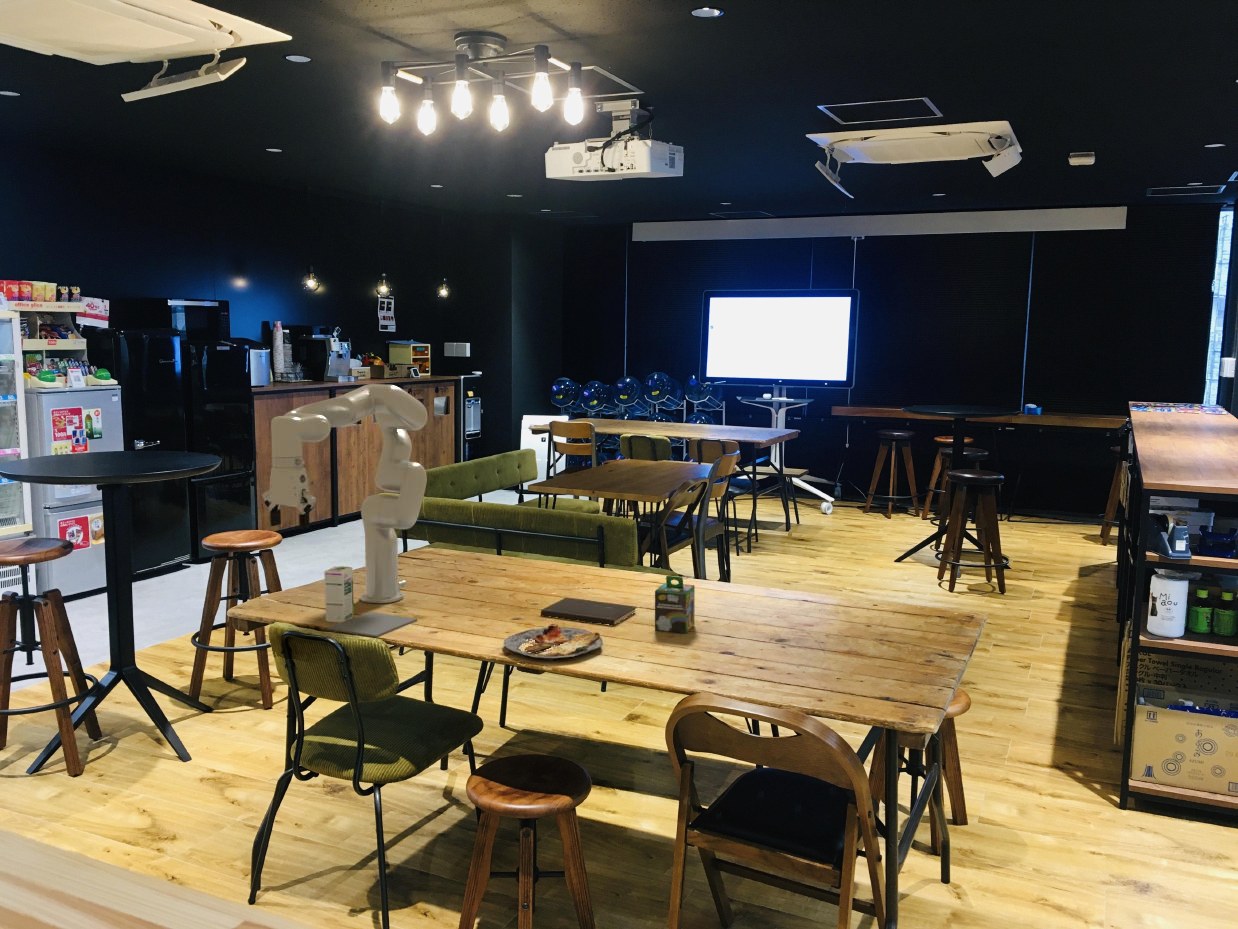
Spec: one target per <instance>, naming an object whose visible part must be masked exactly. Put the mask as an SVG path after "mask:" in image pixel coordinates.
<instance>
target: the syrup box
mask: <svg viewBox="0 0 1238 929" xmlns="http://www.w3.org/2000/svg"><path fill="white" fill-rule="evenodd" d="M353 570H354V569H353V567H350V566H344V565H343V566H333V567H332V568H329V569H326V570H324V571H323V573H324V574H323V575H324V599H325V600H324V601H325V603H324V604H325V621H326V622H329V623H338V624H339V623H341V622H344V621H347V620H350V619H352V618H355V611H354V608H355V604H354V572H353Z"/></svg>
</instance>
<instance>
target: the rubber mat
mask: <svg viewBox="0 0 1238 929" xmlns="http://www.w3.org/2000/svg"><path fill="white" fill-rule="evenodd" d="M415 622H418V618H415V617H410V616H409V617H407V616H402V615H395V614H389V613H382V612H381V613H380V612H374V611H369V612H366V613H364V614H361V615H358V616H354V617H353V618H351V619H350V620H347V621H344V622H341V623H339V622H338V623H336V624H334V625H331V626H329V627H327V630H330V631H335V632H341V633H347V634H355V635H362V636H366V637H373V638H379V637H380V636H382V635H385V634H388V633H391V632H392V631H395V630H398V629H400V628H403V627H405V626H407V625H409V624H412V623H415Z"/></svg>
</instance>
